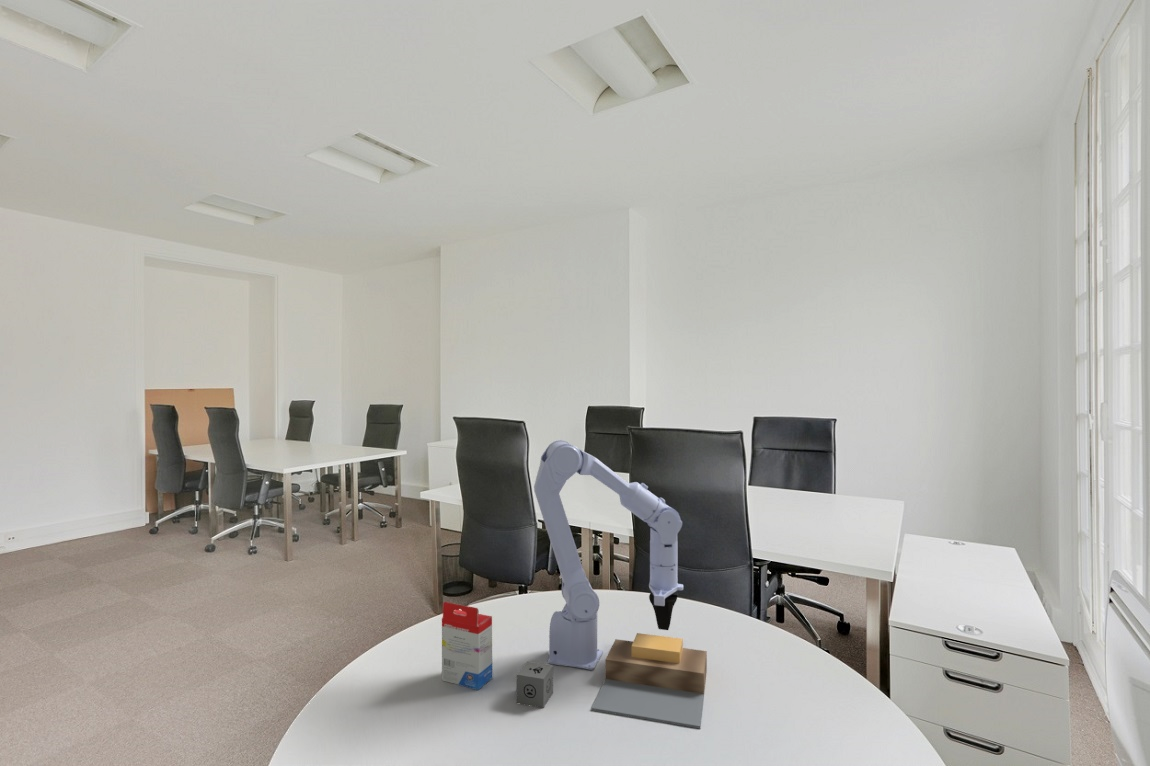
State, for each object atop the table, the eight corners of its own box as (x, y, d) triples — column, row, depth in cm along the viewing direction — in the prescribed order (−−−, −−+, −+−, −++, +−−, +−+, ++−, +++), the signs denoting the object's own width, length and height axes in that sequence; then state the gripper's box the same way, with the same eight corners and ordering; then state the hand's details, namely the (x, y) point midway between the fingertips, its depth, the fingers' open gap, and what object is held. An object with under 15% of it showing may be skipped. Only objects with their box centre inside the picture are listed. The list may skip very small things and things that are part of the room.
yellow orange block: (631, 656, 104) (631, 646, 104) (637, 643, 110) (637, 633, 110) (679, 663, 102) (679, 652, 102) (682, 649, 107) (682, 638, 107)
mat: (591, 710, 93) (591, 707, 93) (606, 678, 104) (606, 676, 104) (700, 728, 88) (700, 726, 88) (704, 693, 99) (704, 691, 99)
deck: (605, 681, 103) (605, 659, 103) (615, 659, 111) (615, 639, 112) (703, 696, 98) (703, 673, 98) (706, 672, 106) (706, 651, 106)
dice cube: (543, 708, 94) (543, 678, 94) (516, 703, 95) (516, 674, 95) (553, 693, 99) (553, 665, 99) (527, 689, 100) (527, 661, 100)
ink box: (493, 678, 104) (493, 600, 104) (478, 691, 99) (478, 609, 100) (456, 669, 107) (457, 593, 108) (440, 680, 103) (440, 601, 103)
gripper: (679, 575, 107) (679, 645, 107) (686, 554, 121) (686, 617, 121) (643, 571, 109) (643, 641, 109) (654, 552, 123) (654, 613, 123)
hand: (663, 628), depth 115 cm, fingers closed
